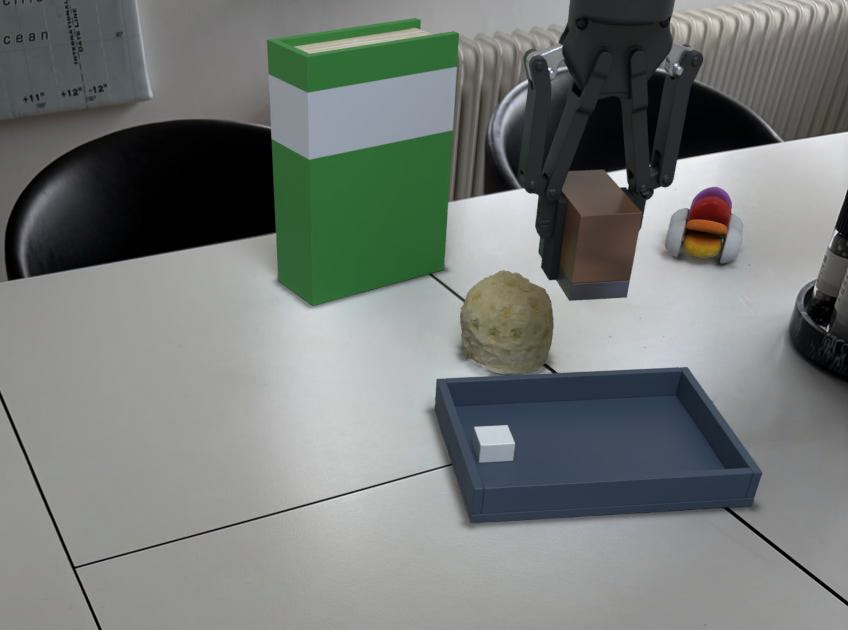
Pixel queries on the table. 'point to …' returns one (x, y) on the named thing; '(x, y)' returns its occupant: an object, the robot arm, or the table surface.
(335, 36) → the hardback book
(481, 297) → the decorative item
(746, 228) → the table surface
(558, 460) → the tray
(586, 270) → the eraser
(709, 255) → the rainbow disc roller
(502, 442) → the white short square block
